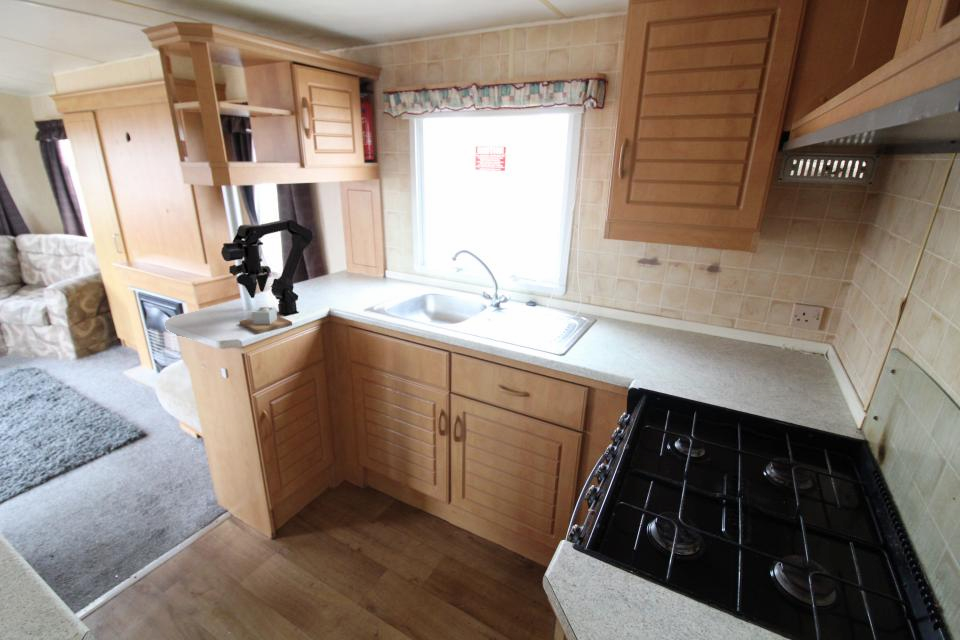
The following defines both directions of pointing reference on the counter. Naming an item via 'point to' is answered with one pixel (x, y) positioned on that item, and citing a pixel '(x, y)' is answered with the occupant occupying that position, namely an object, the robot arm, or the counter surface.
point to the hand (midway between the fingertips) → (257, 294)
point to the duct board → (263, 328)
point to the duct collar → (264, 316)
